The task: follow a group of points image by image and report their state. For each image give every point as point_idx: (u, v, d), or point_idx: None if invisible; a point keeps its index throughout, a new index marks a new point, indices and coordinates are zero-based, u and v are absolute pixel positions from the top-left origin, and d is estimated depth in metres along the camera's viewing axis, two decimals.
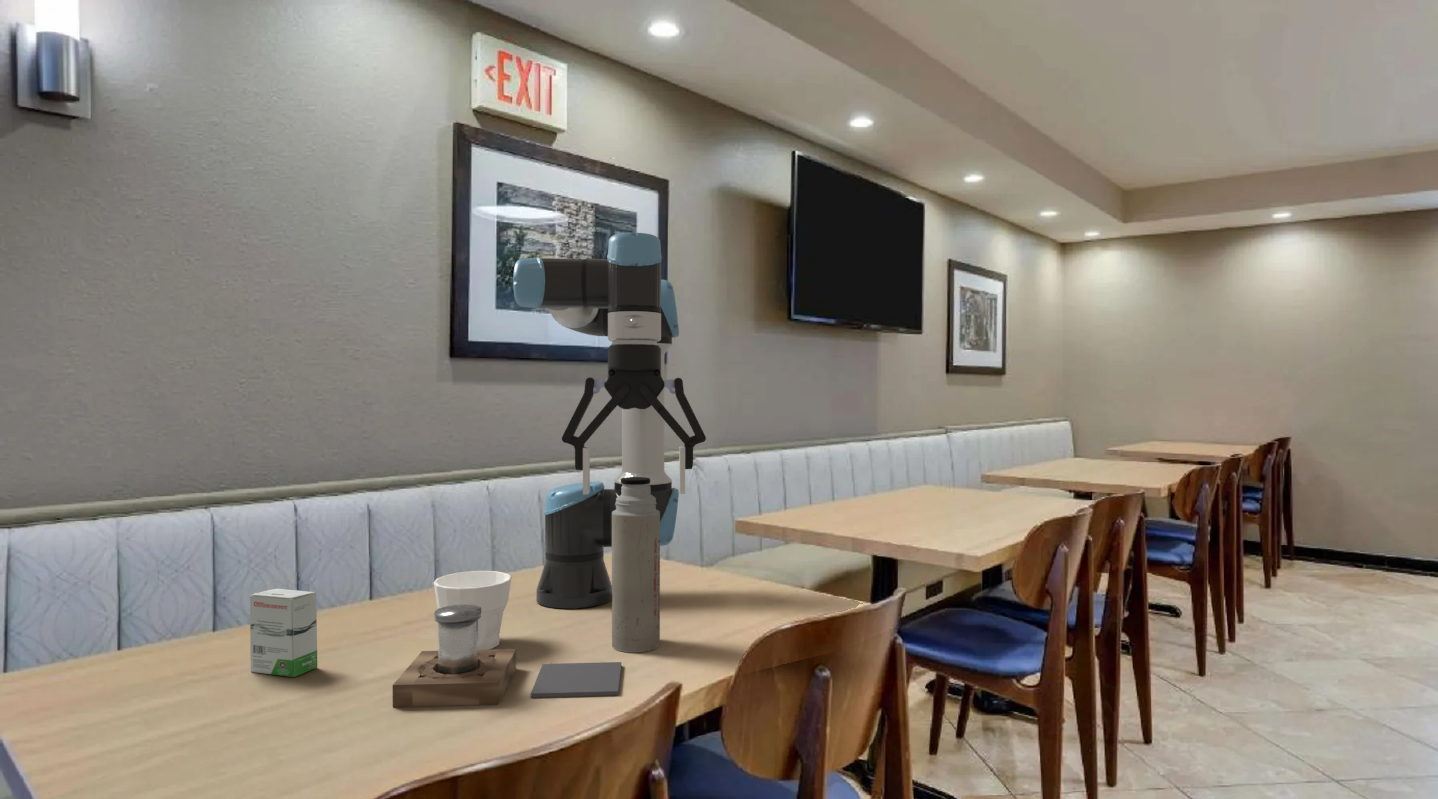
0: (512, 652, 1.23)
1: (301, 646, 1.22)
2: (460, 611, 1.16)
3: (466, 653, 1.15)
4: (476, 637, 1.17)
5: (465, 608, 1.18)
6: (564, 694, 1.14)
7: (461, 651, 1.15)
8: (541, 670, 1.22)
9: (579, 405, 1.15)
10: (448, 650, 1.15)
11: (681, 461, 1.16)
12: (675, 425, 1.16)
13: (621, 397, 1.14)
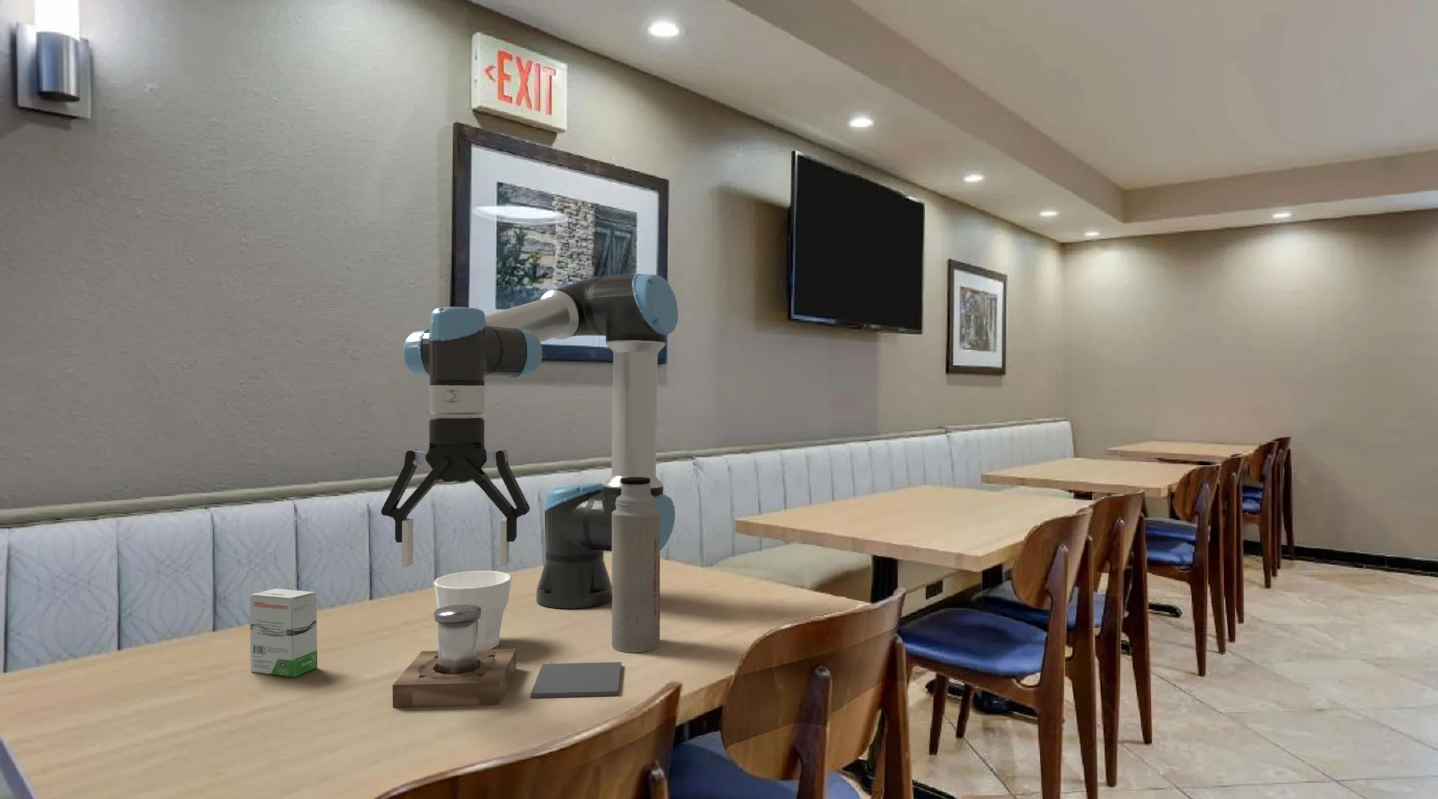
0: (512, 652, 1.23)
1: (301, 646, 1.22)
2: (460, 611, 1.17)
3: (466, 653, 1.15)
4: (476, 637, 1.17)
5: (465, 608, 1.18)
6: (564, 694, 1.14)
7: (461, 650, 1.15)
8: (541, 670, 1.22)
9: (399, 478, 1.15)
10: (448, 650, 1.15)
11: (502, 534, 1.16)
12: (496, 498, 1.16)
13: (441, 470, 1.15)
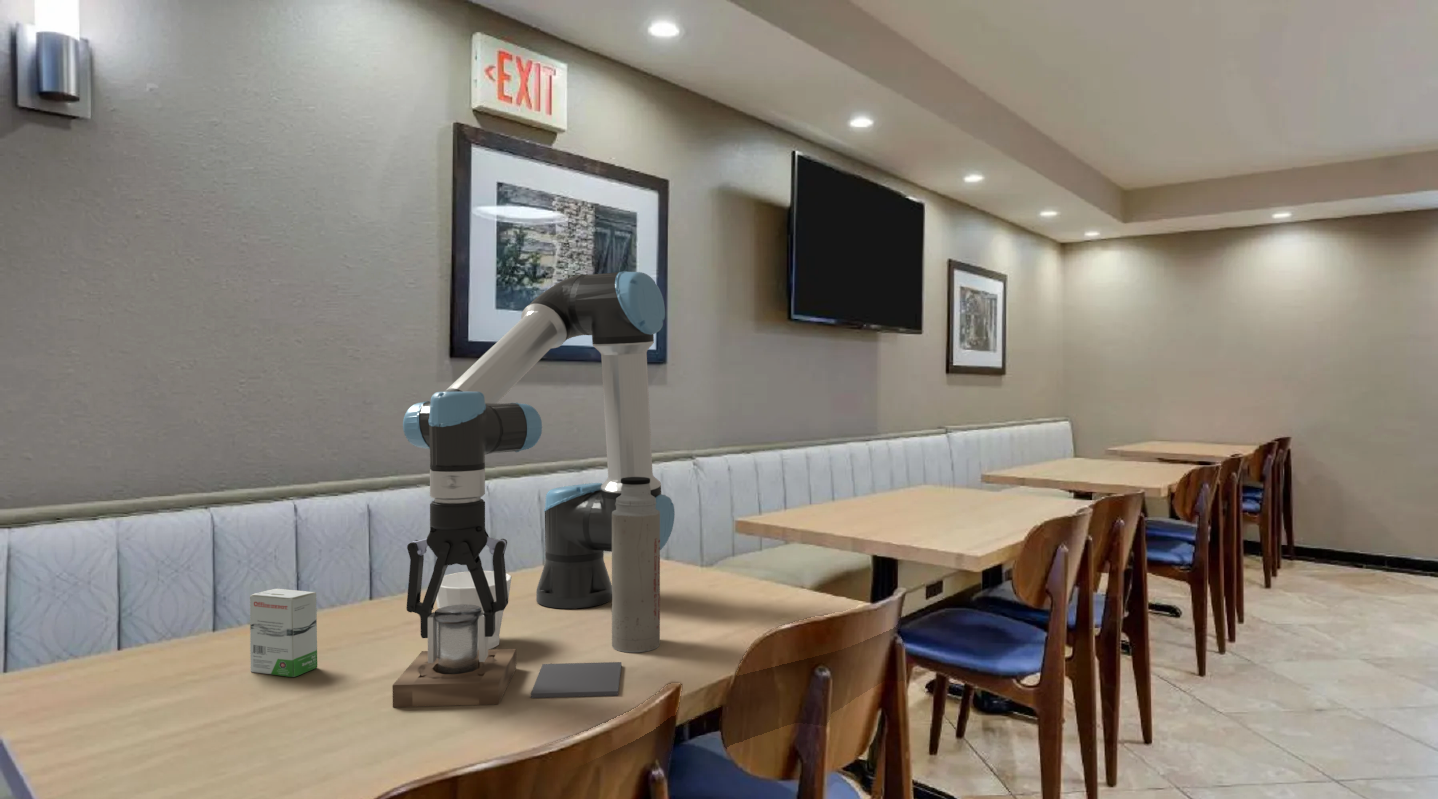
0: (512, 652, 1.23)
1: (301, 646, 1.22)
2: (460, 611, 1.16)
3: (466, 653, 1.15)
4: (476, 637, 1.17)
5: (465, 608, 1.18)
6: (564, 694, 1.14)
7: (461, 651, 1.15)
8: (541, 670, 1.22)
9: (410, 572, 1.15)
10: (448, 650, 1.15)
11: (480, 629, 1.16)
12: (481, 590, 1.16)
13: (445, 555, 1.15)
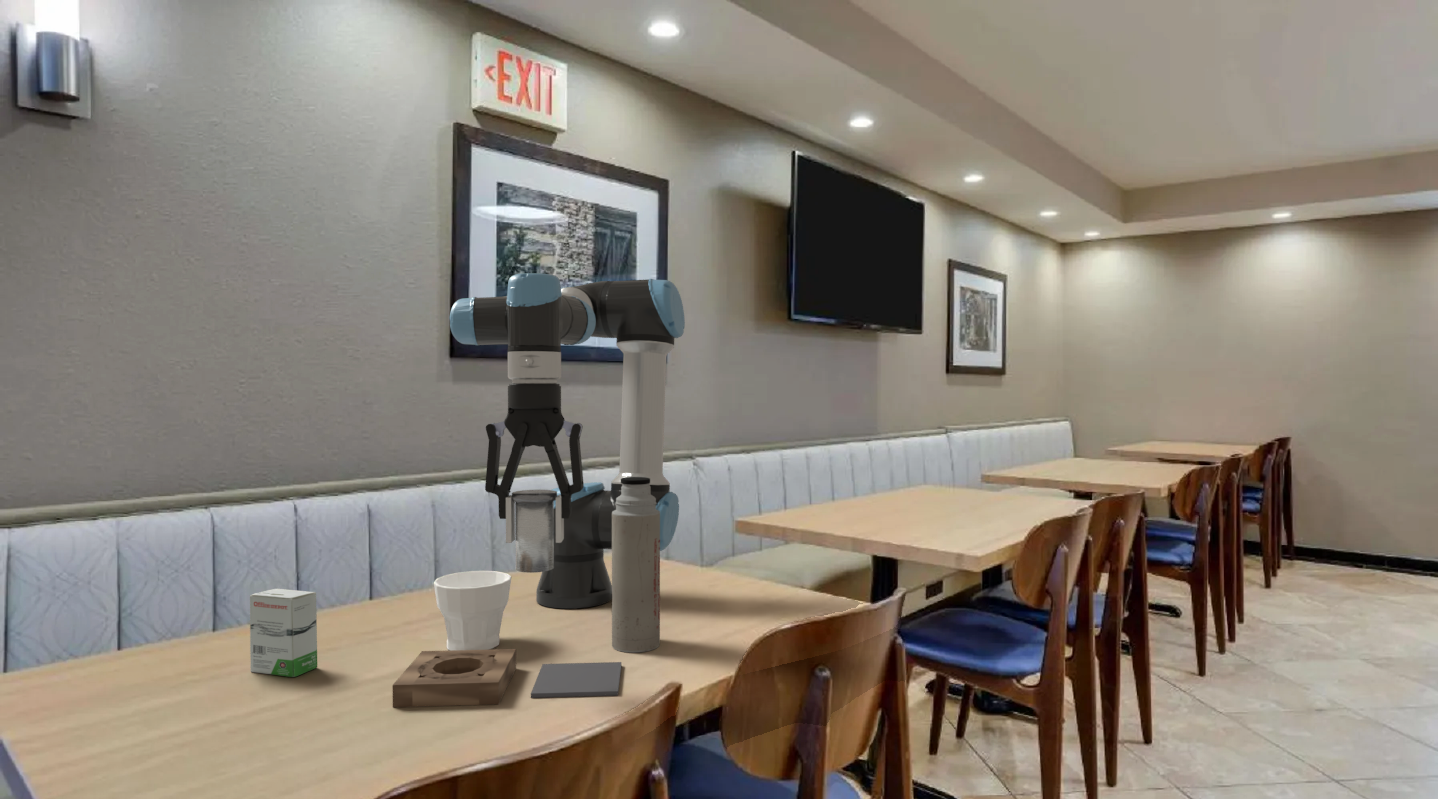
0: (512, 652, 1.23)
1: (301, 646, 1.22)
2: (537, 493, 1.18)
3: (543, 533, 1.16)
4: (552, 519, 1.18)
5: (541, 491, 1.19)
6: (564, 694, 1.14)
7: (538, 530, 1.16)
8: (541, 670, 1.22)
9: (489, 453, 1.17)
10: (526, 529, 1.16)
11: (557, 510, 1.17)
12: (558, 472, 1.17)
13: (523, 436, 1.16)
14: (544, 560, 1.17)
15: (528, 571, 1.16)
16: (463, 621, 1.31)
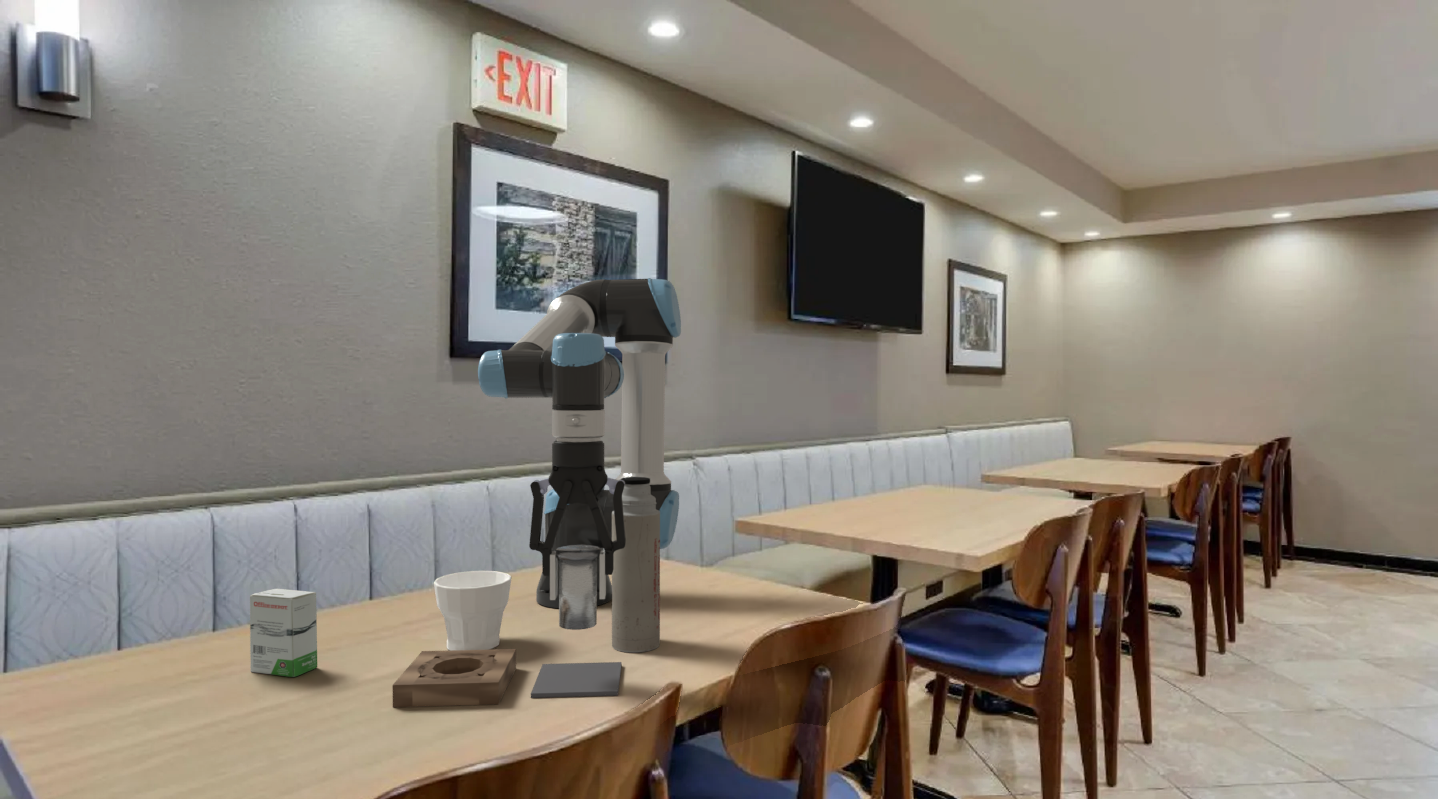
0: (512, 652, 1.23)
1: (301, 646, 1.22)
2: (581, 550, 1.18)
3: (588, 590, 1.17)
4: (596, 575, 1.19)
5: (584, 547, 1.20)
6: (564, 694, 1.14)
7: (583, 587, 1.17)
8: (541, 670, 1.22)
9: (533, 511, 1.17)
10: (571, 587, 1.17)
11: (601, 567, 1.18)
12: (602, 529, 1.18)
13: (568, 493, 1.17)
14: (589, 617, 1.17)
15: (573, 628, 1.17)
16: (463, 621, 1.31)
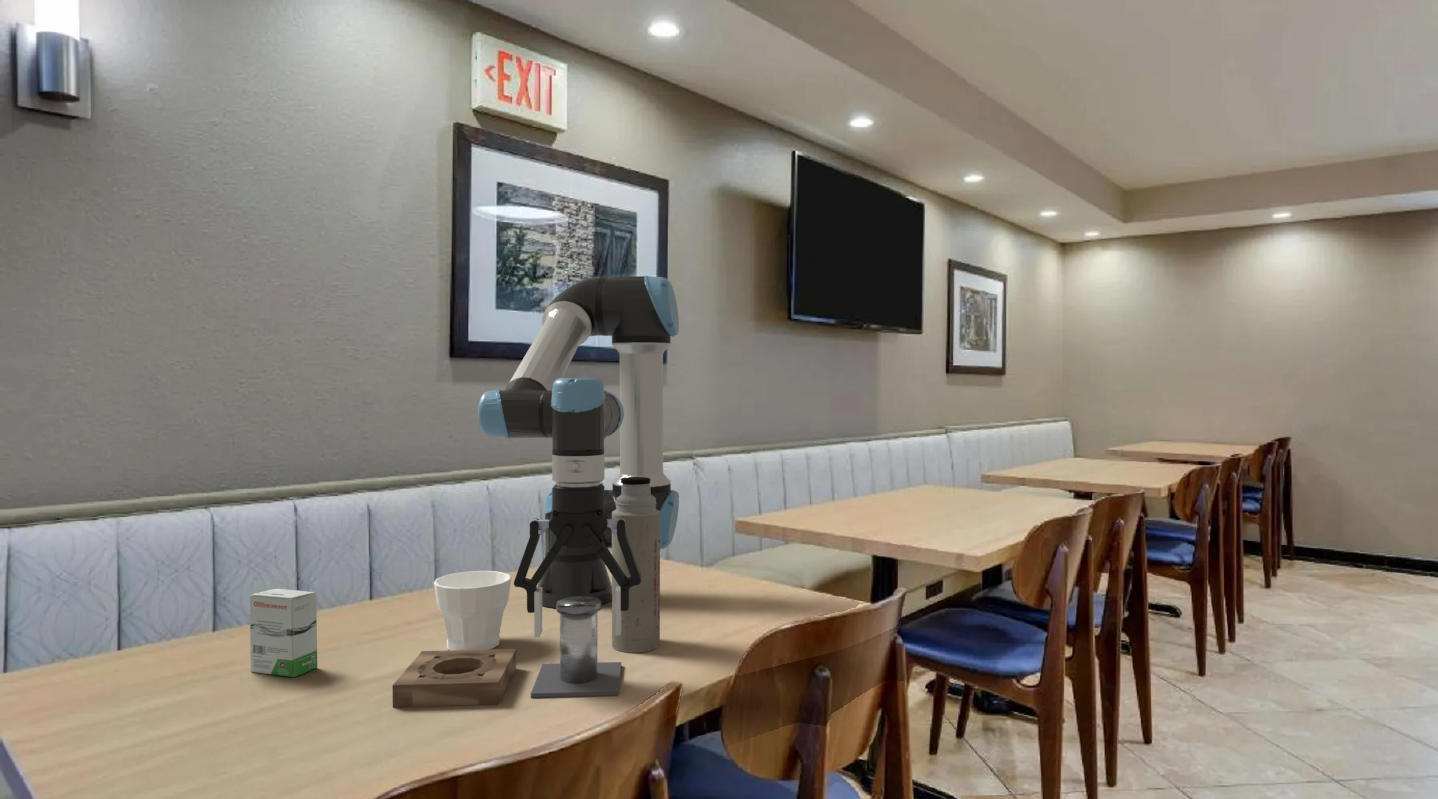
0: (512, 652, 1.23)
1: (301, 646, 1.22)
2: (581, 603, 1.19)
3: (589, 644, 1.18)
4: (596, 628, 1.19)
5: (584, 600, 1.20)
6: (564, 694, 1.14)
7: (584, 641, 1.17)
8: (541, 670, 1.22)
9: (526, 549, 1.17)
10: (572, 641, 1.17)
11: (617, 604, 1.19)
12: (613, 567, 1.19)
13: (565, 538, 1.17)
14: (590, 671, 1.18)
15: (574, 682, 1.17)
16: (463, 621, 1.31)
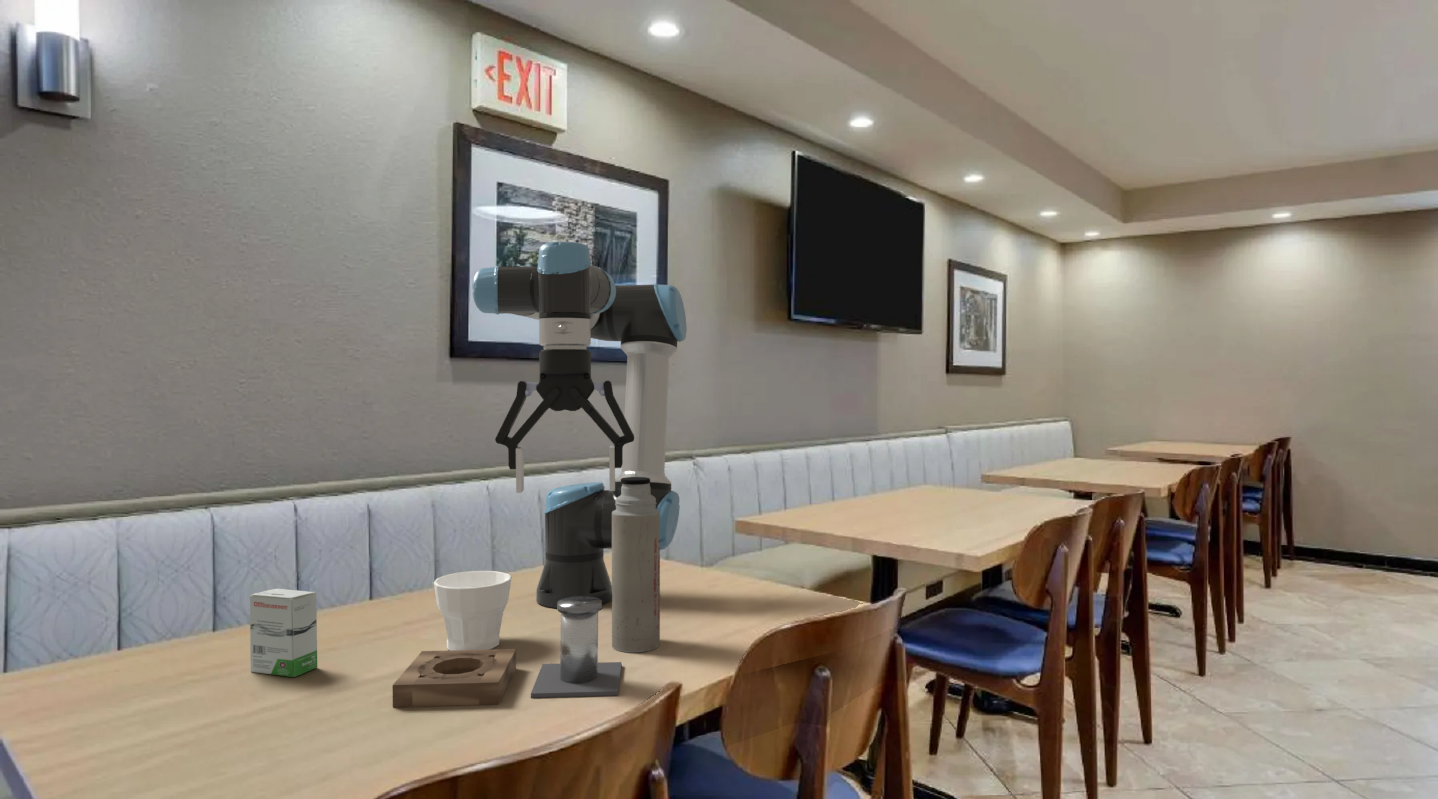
0: (512, 652, 1.23)
1: (301, 646, 1.22)
2: (582, 603, 1.19)
3: (589, 644, 1.18)
4: (597, 628, 1.19)
5: (585, 600, 1.21)
6: (564, 694, 1.14)
7: (585, 641, 1.17)
8: (541, 670, 1.22)
9: (512, 407, 1.20)
10: (572, 640, 1.17)
11: (611, 460, 1.21)
12: (604, 426, 1.21)
13: (552, 400, 1.20)
14: (590, 671, 1.18)
15: (574, 682, 1.17)
16: (463, 621, 1.31)
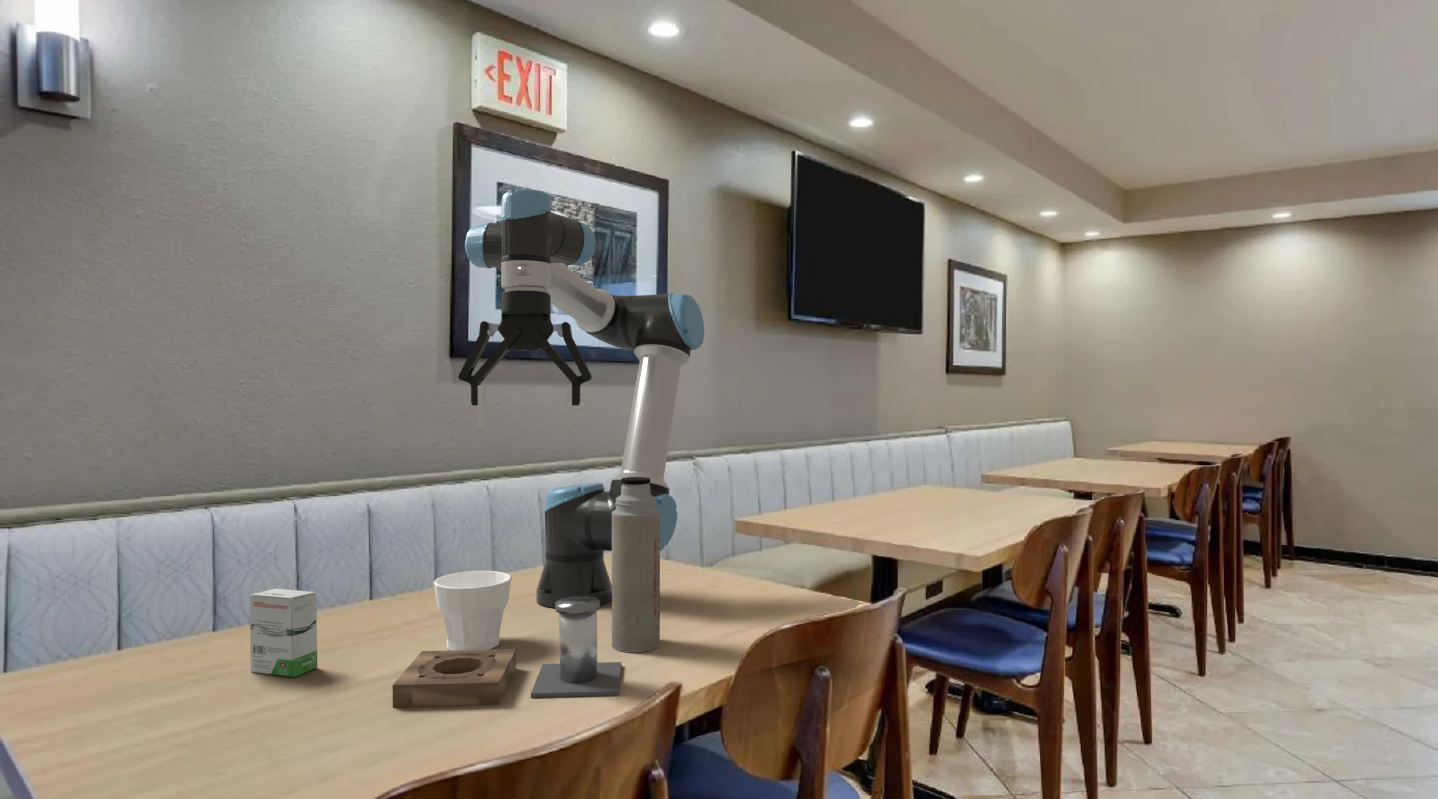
0: (512, 652, 1.23)
1: (301, 646, 1.22)
2: (580, 602, 1.19)
3: (588, 644, 1.18)
4: (596, 628, 1.19)
5: (584, 599, 1.21)
6: (564, 694, 1.14)
7: (583, 641, 1.17)
8: (541, 670, 1.22)
9: (474, 346, 1.26)
10: (571, 640, 1.17)
11: (568, 397, 1.27)
12: (562, 365, 1.27)
13: (512, 339, 1.26)
14: (589, 670, 1.18)
15: (574, 682, 1.17)
16: (463, 621, 1.31)
